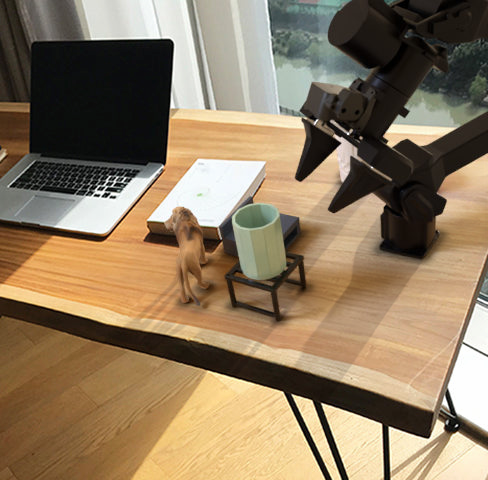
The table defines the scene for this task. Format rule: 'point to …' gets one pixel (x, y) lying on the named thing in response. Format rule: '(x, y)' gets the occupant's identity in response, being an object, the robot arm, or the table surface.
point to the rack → (272, 289)
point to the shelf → (287, 223)
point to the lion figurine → (188, 249)
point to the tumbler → (259, 240)
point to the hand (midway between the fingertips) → (313, 195)
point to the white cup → (346, 155)
